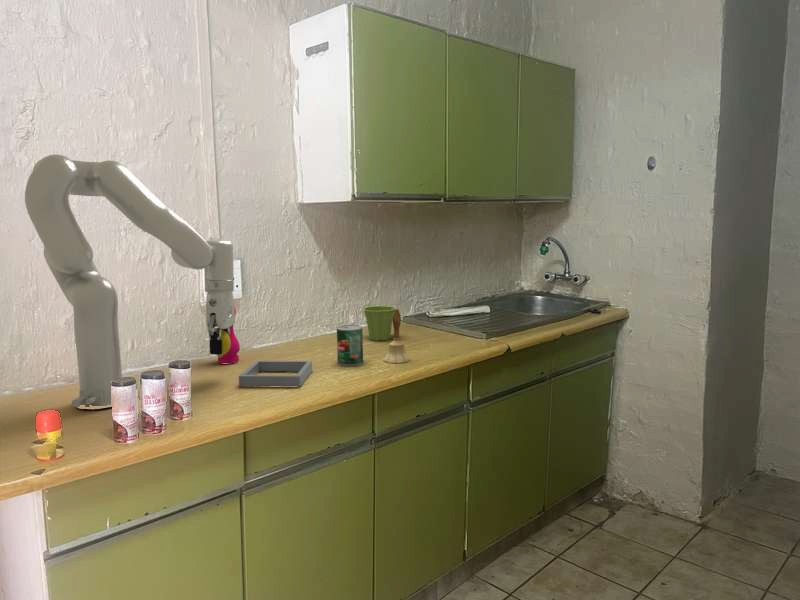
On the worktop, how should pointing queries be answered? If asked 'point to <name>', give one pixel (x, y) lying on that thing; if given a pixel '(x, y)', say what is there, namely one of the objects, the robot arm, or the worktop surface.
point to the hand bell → (396, 343)
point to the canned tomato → (350, 345)
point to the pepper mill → (231, 348)
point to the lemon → (224, 342)
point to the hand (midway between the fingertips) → (220, 351)
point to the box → (276, 380)
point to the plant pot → (379, 321)
